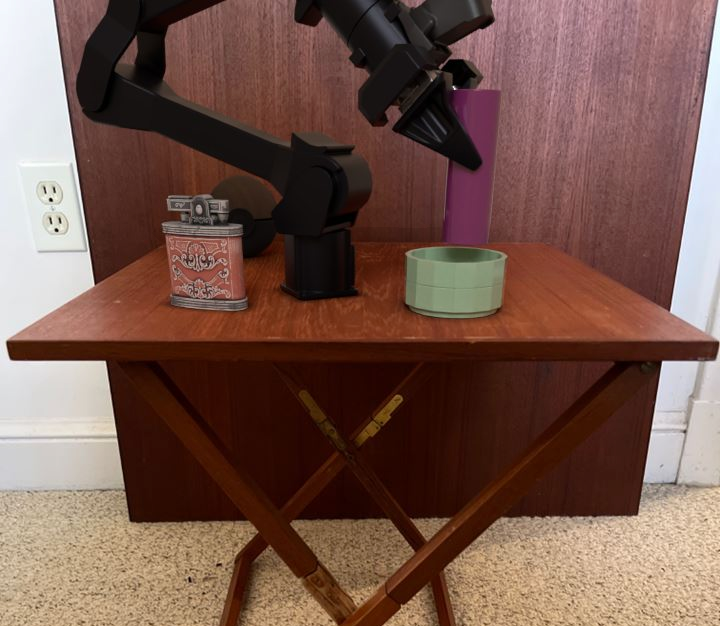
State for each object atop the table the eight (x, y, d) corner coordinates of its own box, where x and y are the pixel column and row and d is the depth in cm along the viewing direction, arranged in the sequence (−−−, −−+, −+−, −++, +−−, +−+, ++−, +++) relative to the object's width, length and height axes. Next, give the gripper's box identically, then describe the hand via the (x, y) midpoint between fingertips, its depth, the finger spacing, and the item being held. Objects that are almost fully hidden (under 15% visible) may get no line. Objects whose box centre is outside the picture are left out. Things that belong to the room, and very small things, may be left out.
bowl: (436, 323, 62) (440, 266, 60) (387, 302, 70) (388, 250, 67) (522, 313, 66) (528, 258, 64) (465, 294, 73) (469, 244, 71)
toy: (205, 263, 89) (197, 178, 85) (213, 251, 98) (207, 173, 93) (279, 262, 90) (275, 178, 85) (281, 250, 99) (277, 173, 94)
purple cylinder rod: (432, 242, 66) (441, 89, 60) (458, 237, 69) (468, 91, 63) (472, 247, 63) (485, 88, 57) (497, 242, 66) (512, 90, 60)
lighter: (254, 304, 69) (247, 194, 64) (238, 312, 66) (229, 197, 61) (182, 298, 71) (171, 192, 66) (164, 305, 68) (150, 194, 64)
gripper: (400, -93, 49) (539, 87, 50) (470, -40, 64) (575, 97, 65) (302, 43, 55) (428, 199, 56) (387, 61, 71) (484, 184, 72)
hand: (485, 166), depth 62 cm, fingers closed on purple cylinder rod, 4 cm apart
